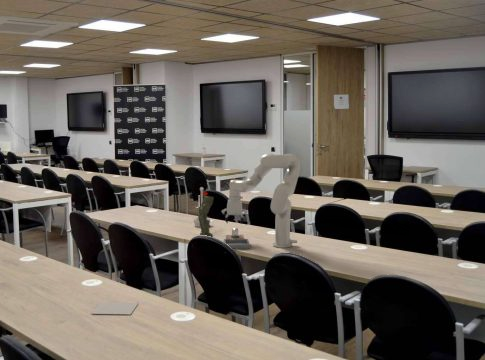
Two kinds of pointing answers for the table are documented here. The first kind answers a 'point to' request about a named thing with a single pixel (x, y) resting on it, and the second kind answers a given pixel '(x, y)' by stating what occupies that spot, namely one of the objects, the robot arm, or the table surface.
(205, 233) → the mechanical leg
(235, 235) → the pin
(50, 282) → the table surface
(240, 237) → the pin block
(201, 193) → the flag stand
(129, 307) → the grey flat slab
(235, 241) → the tray
